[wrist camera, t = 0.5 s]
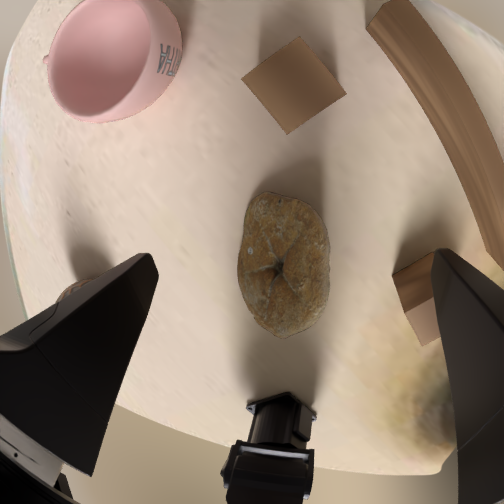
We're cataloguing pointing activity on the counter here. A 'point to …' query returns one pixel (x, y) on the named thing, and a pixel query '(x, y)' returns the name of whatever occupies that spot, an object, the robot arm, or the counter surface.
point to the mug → (113, 58)
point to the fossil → (284, 264)
